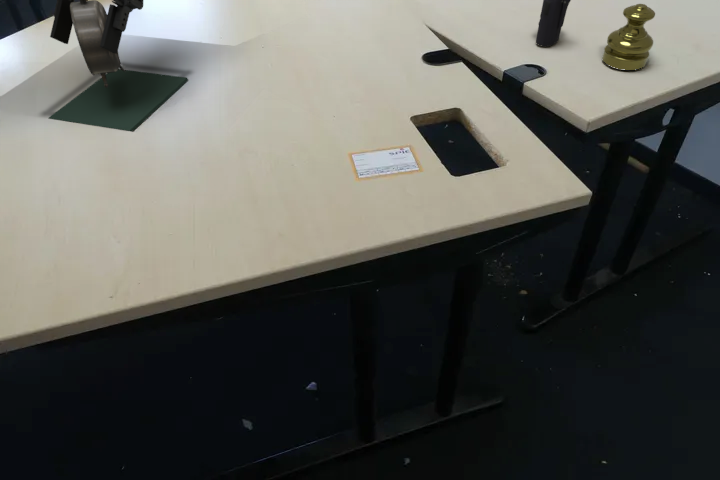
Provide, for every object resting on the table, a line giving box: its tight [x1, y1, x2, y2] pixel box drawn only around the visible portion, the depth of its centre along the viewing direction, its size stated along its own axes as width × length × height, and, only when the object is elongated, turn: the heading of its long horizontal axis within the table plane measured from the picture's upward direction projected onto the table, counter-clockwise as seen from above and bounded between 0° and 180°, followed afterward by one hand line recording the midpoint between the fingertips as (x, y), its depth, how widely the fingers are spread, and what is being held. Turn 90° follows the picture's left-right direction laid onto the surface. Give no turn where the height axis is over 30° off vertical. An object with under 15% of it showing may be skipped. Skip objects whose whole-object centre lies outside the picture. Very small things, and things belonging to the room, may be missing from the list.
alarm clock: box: [70, 0, 126, 88], centre depth 84 cm, size 11×5×16 cm, turn 21°
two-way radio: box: [535, 0, 572, 47], centre depth 97 cm, size 6×4×15 cm
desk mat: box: [48, 68, 189, 133], centre depth 93 cm, size 16×18×1 cm
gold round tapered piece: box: [601, 3, 656, 71], centre depth 92 cm, size 7×7×10 cm
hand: (83, 45), depth 83 cm, fingers closed on alarm clock, 10 cm apart
